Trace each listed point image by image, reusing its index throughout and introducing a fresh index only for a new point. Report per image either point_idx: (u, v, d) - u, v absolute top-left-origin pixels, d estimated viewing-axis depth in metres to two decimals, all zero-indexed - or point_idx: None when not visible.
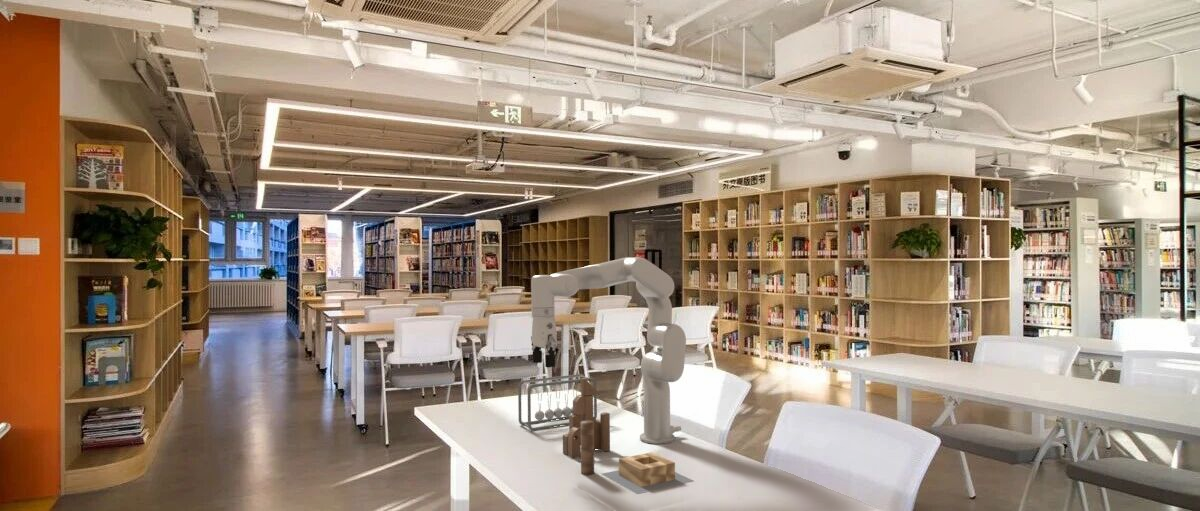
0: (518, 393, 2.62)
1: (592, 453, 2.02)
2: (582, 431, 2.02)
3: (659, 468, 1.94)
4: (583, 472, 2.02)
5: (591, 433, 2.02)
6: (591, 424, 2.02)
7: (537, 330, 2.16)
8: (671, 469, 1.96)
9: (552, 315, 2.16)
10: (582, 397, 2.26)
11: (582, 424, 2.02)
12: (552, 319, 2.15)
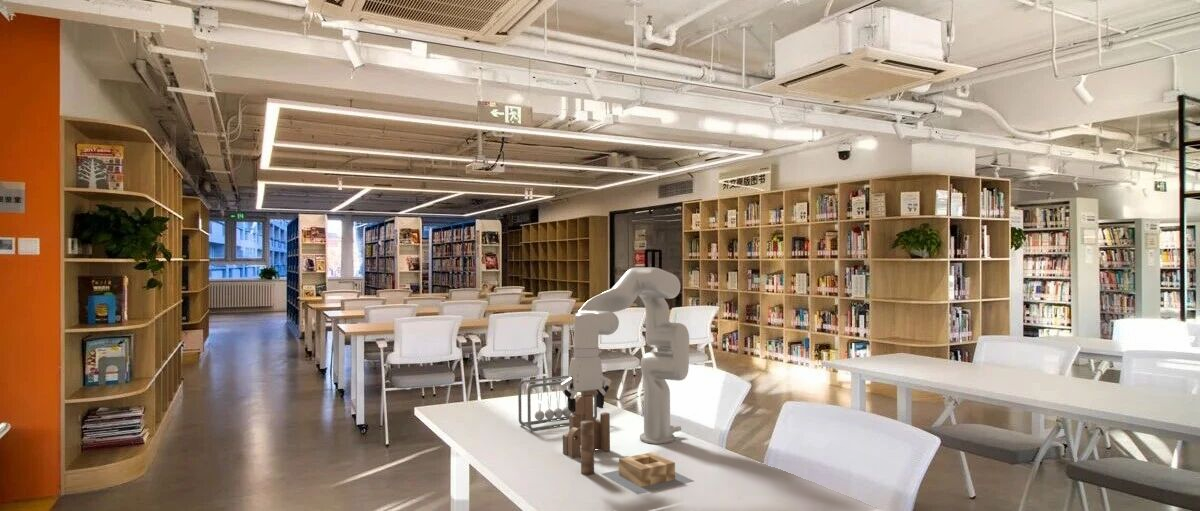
0: (518, 393, 2.62)
1: (592, 453, 2.02)
2: (582, 431, 2.02)
3: (659, 468, 1.94)
4: (583, 472, 2.02)
5: (591, 433, 2.02)
6: (591, 424, 2.02)
7: (592, 372, 2.01)
8: (671, 469, 1.96)
9: None
10: (582, 397, 2.26)
11: (582, 424, 2.02)
12: None
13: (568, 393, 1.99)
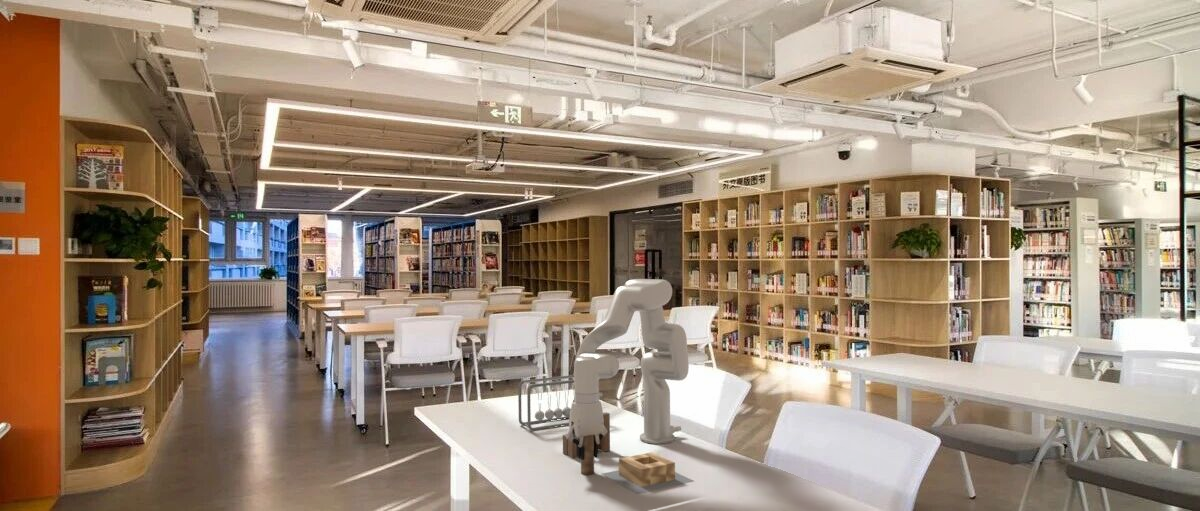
0: (518, 393, 2.62)
1: (592, 453, 2.02)
2: None
3: (659, 468, 1.94)
4: (583, 472, 2.02)
5: None
6: None
7: (593, 417, 2.02)
8: (671, 469, 1.96)
9: None
10: None
11: None
12: None
13: (577, 441, 2.01)
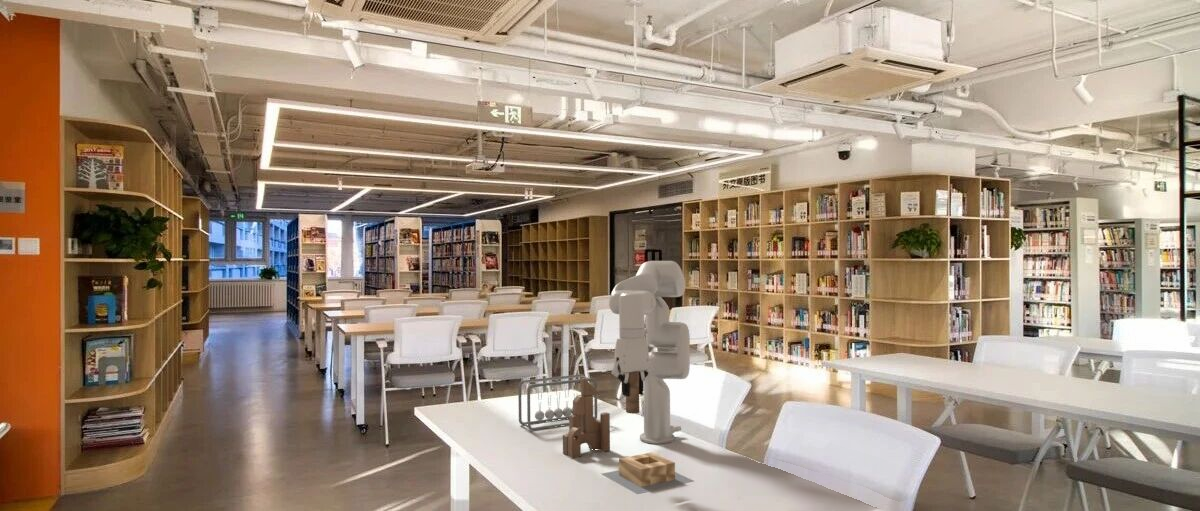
0: (518, 393, 2.62)
1: (637, 390, 1.98)
2: None
3: (659, 468, 1.94)
4: (628, 409, 1.98)
5: None
6: None
7: (638, 353, 1.98)
8: (671, 469, 1.96)
9: None
10: (582, 397, 2.26)
11: None
12: None
13: (622, 377, 1.97)
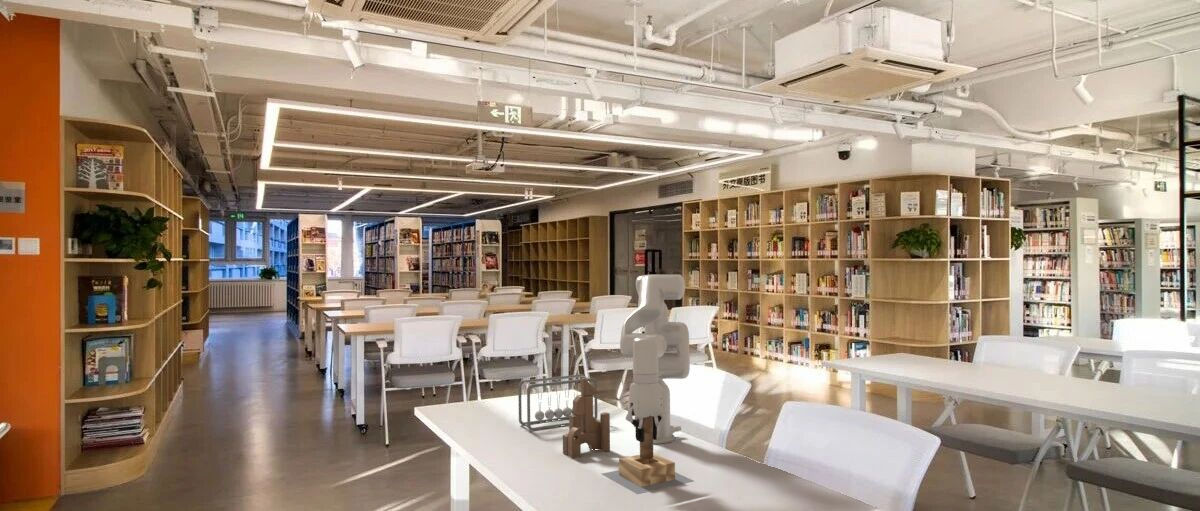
0: (518, 393, 2.62)
1: (651, 435, 1.97)
2: None
3: (659, 468, 1.94)
4: (642, 455, 1.97)
5: None
6: None
7: (652, 398, 1.97)
8: (671, 469, 1.96)
9: None
10: (582, 397, 2.26)
11: None
12: None
13: (636, 423, 1.96)
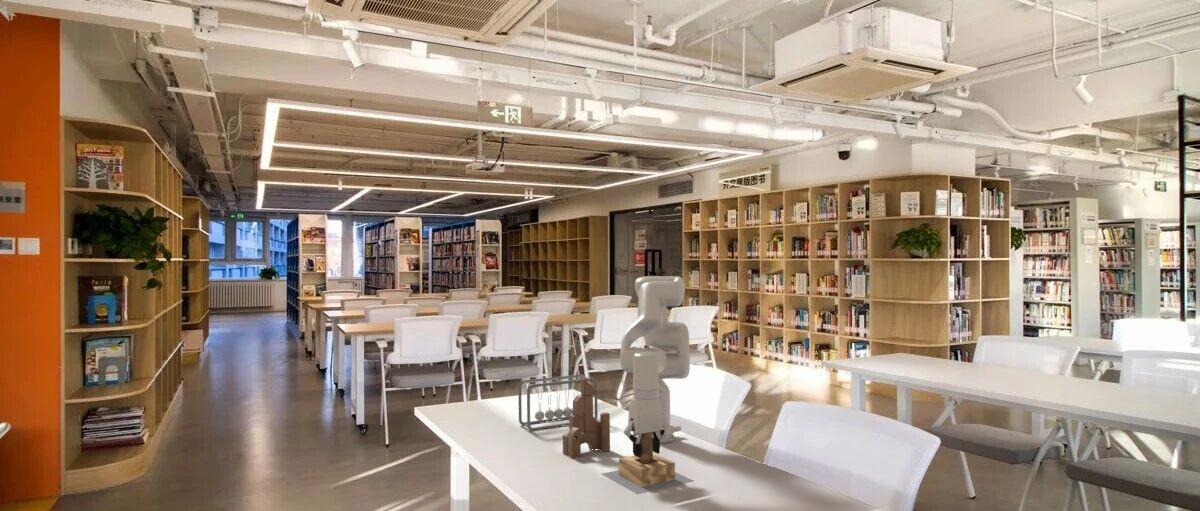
0: (518, 393, 2.62)
1: (651, 456, 1.97)
2: None
3: (659, 468, 1.94)
4: None
5: (650, 435, 1.97)
6: None
7: (653, 414, 1.97)
8: (671, 469, 1.96)
9: None
10: (582, 397, 2.26)
11: None
12: None
13: (633, 438, 1.96)
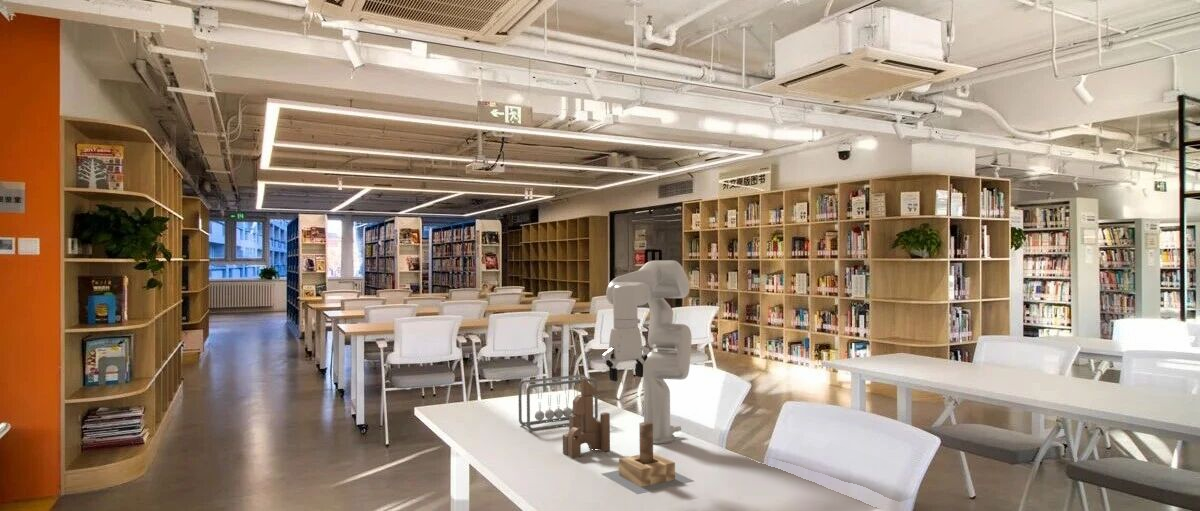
0: (519, 393, 2.62)
1: (651, 456, 1.97)
2: (641, 433, 1.97)
3: (659, 468, 1.94)
4: None
5: (651, 435, 1.97)
6: (651, 426, 1.97)
7: (632, 342, 2.06)
8: (671, 469, 1.96)
9: None
10: (582, 397, 2.26)
11: (641, 426, 1.97)
12: None
13: (610, 363, 2.04)
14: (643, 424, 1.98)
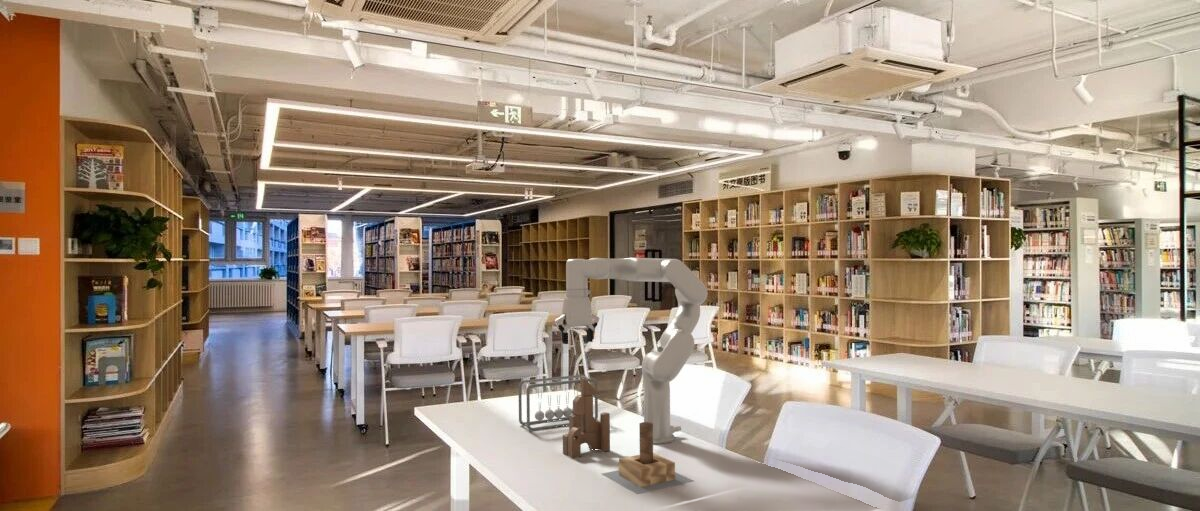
0: (519, 393, 2.62)
1: (651, 456, 1.97)
2: (641, 433, 1.97)
3: (659, 468, 1.94)
4: None
5: (651, 435, 1.97)
6: (651, 426, 1.97)
7: (582, 310, 2.32)
8: (671, 469, 1.96)
9: None
10: (582, 397, 2.26)
11: (641, 426, 1.97)
12: None
13: (561, 328, 2.30)
14: (643, 424, 1.98)
